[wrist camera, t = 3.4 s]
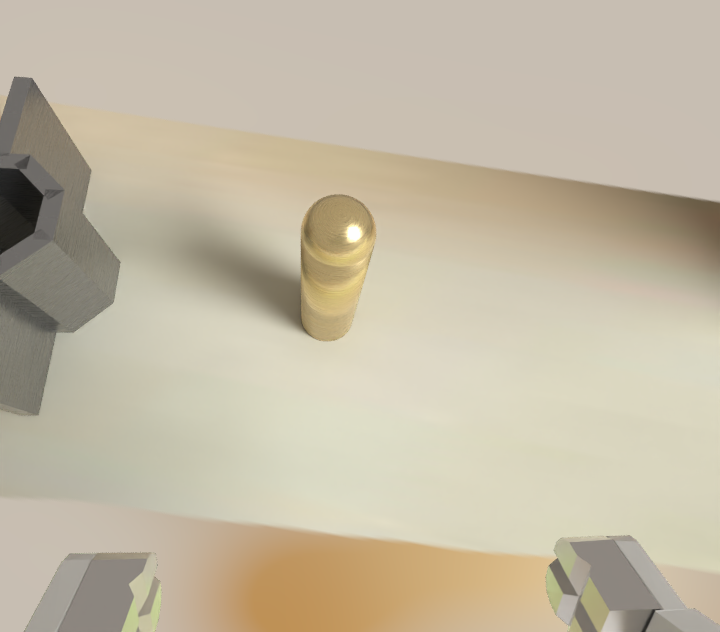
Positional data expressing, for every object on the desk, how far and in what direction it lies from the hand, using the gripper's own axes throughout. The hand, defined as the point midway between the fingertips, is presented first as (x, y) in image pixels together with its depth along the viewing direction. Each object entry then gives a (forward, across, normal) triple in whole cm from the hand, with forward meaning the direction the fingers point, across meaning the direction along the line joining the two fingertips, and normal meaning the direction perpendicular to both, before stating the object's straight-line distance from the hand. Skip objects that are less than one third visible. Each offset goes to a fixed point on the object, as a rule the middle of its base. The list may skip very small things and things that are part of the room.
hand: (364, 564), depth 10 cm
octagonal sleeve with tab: (+20, +15, +2) cm, 25 cm away
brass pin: (+19, 0, +3) cm, 19 cm away
